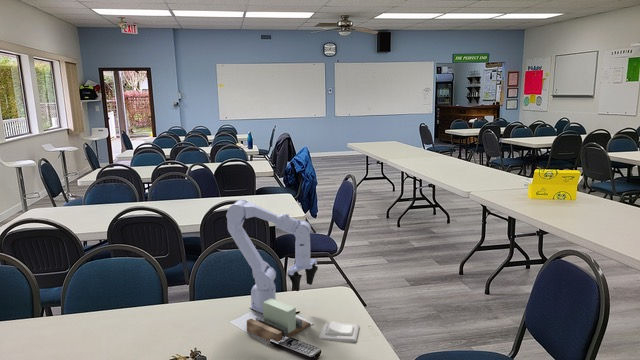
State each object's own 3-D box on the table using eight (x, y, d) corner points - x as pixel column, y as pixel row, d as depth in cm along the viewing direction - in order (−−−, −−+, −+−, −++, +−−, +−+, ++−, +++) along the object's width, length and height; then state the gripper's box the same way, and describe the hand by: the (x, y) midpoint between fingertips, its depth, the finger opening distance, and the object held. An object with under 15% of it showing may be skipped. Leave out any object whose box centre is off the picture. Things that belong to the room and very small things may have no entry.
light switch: (323, 316, 163) (359, 317, 161) (324, 327, 164) (359, 328, 161) (318, 331, 153) (355, 332, 150) (318, 342, 153) (356, 344, 151)
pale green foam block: (288, 333, 155) (287, 311, 153) (263, 322, 162) (263, 302, 161) (297, 328, 158) (297, 306, 157) (273, 317, 166) (272, 297, 164)
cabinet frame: (246, 331, 158) (246, 320, 158) (280, 313, 171) (280, 303, 171) (277, 345, 149) (277, 334, 148) (310, 325, 162) (310, 315, 161)
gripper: (298, 261, 162) (298, 296, 164) (323, 250, 173) (323, 283, 175) (283, 256, 166) (284, 291, 169) (309, 246, 177) (309, 279, 180)
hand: (303, 287), depth 172 cm, fingers open, 7 cm apart
